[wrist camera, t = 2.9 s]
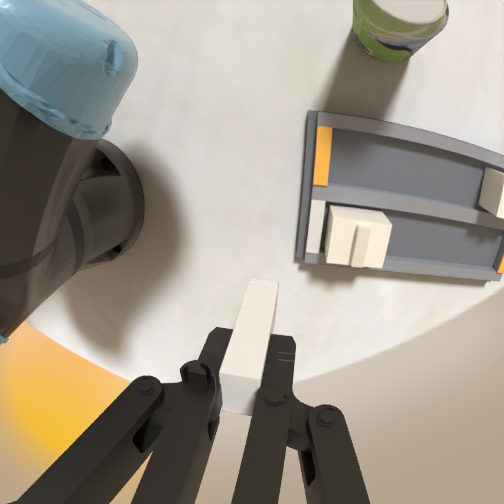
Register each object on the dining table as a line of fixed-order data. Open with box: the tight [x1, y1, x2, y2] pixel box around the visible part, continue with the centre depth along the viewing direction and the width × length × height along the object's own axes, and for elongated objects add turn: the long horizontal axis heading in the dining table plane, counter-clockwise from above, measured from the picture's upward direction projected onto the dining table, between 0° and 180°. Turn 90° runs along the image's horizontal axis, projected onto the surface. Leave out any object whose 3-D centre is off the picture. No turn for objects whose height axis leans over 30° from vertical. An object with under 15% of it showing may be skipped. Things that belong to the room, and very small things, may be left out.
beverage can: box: [353, 0, 449, 63], centre depth 13 cm, size 6×7×12 cm
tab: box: [324, 205, 392, 268], centre depth 24 cm, size 5×4×4 cm
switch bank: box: [296, 110, 504, 281], centre depth 23 cm, size 26×14×2 cm, turn 88°
